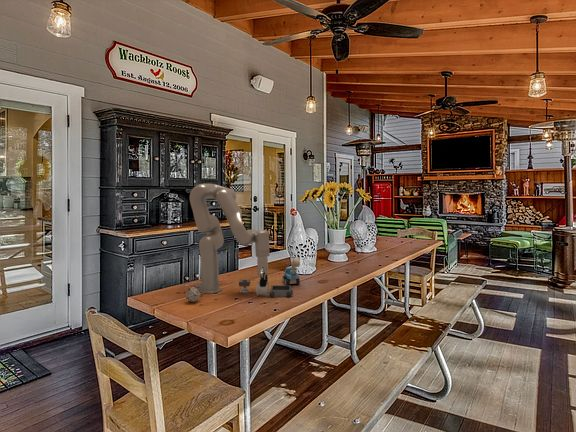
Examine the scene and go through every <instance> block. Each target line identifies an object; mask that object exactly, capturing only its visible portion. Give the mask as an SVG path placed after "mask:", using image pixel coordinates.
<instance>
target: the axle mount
mask: <svg viewBox="0 0 576 432" xmlns="http://www.w3.org/2000/svg"><path fill="white" fill-rule="evenodd" d="M249 293H250V288H248V287H247V286H242V288H240V294H242V295H246V294H249Z"/></svg>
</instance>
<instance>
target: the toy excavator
mask: <svg viewBox="0 0 576 432" xmlns="http://www.w3.org/2000/svg"><path fill="white" fill-rule="evenodd" d="M297 267H298V268H299V267H300V259H299V257H296V258H295V257H294V258H293V259H292V261H291V266H287V267H286V268H285V270H284V272H283V276H281V277H282V283H284V285H292V284H293V285H295V284H296V285H300V281H301V280H300V275H299V274H298V273H297Z"/></svg>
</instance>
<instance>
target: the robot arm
mask: <svg viewBox="0 0 576 432" xmlns="http://www.w3.org/2000/svg"><path fill="white" fill-rule="evenodd" d="M236 194H237V193H236V192H235V191H234V189H232V188H229V187H226V186H225V187H224V186H221V185H218V184H215V183H200V184H197V185H195V186H194V187H193V188H192V189H191V191H190V193H189V203H190V206H191V210H192V213H193V219H194V222H195V225H196V228H197V230H198V232H199V233H201V234H206V235H204V236H202V238H200V240H199V244H198V248H199V254H200V270H201V271H200V274H201V282H199V283H198V282H194V283H193V284H194V286H193V287H195V288H198V287H199V288H198V289H199V290H200V294H201V293H202V294H216V293H219V292H222V290H223V289H222V288H223V287H222V286H220V277H219V276H220V275H219V274H220V272H219V268H220V267H219V256H218V255H219V254H218V251H217V250H218V249H220V248H221V247H223V245H224V243H225V239H224V234H223V231H222V227H221V223H220V221H219V218H218V217H217V216H215V215H214V214H211V213H210V211H209V210H210V209H209V207H208V204H207V203H206V200H207V199H208V200H209V199H211V200H216V202H217V204H218V205H219V207H220V208H221V210H222V211H223V213H224V215H225V216H226V218H227V220H228V224H229V228H230V231H231V233H232V235H233V236H234V238H235V239H236V242H237V243H239V245H241V246H249V245H251V244H253V243H254V249H255V251H254V252H255V257H257V259H256V260H257V263H256V264H257V265H256V266H257V275H258V276H259V281H260V287H266V282H269V281H268V271H269V262H268V261H269V259H268V257H270V254H271V253H270V233H269V231H268V230H265V229H260V230H259V229H246V227H245V226H244V224H243V221H242V214H243V213H242V209H241V208H240V206H239V205H238V202H237V201H236V199H237V195H236Z"/></svg>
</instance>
